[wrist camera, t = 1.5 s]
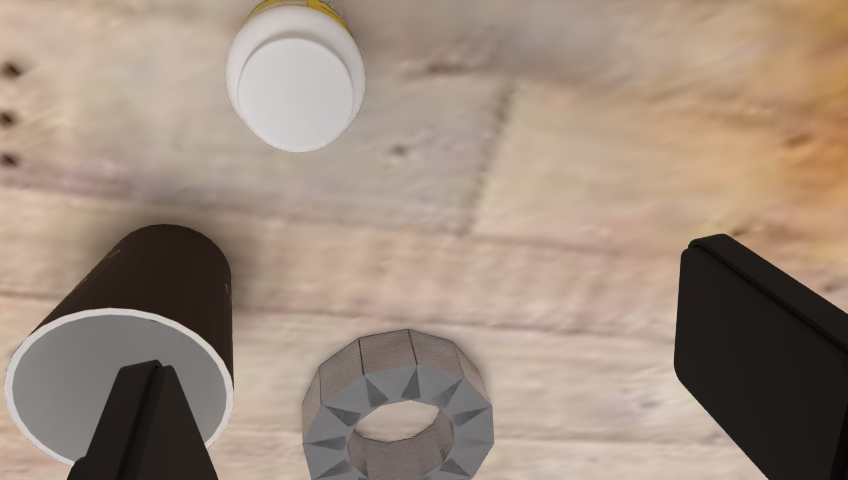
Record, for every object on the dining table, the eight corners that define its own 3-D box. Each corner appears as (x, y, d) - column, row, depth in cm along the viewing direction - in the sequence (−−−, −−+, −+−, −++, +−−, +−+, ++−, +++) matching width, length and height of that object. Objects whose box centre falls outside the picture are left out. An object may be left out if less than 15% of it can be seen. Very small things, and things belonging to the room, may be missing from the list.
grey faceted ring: (289, 350, 37) (287, 397, 34) (473, 317, 39) (492, 359, 35) (322, 483, 43) (323, 537, 39) (483, 450, 44) (500, 499, 40)
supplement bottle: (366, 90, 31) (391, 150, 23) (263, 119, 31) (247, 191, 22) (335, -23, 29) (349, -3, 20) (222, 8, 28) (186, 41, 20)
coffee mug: (165, 172, 31) (111, 266, 23) (283, 280, 35) (277, 396, 26) (9, 306, 33) (-99, 442, 24) (138, 395, 37) (86, 540, 28)
